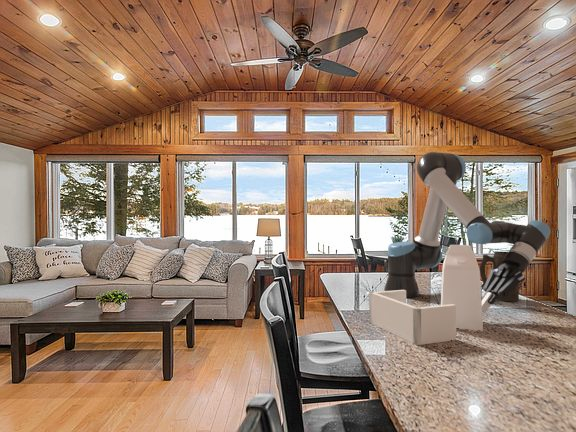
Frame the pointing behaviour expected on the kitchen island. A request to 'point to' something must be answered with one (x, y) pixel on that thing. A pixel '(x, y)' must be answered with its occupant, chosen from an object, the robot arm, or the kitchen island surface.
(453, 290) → the milk
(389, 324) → the cubby
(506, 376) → the kitchen island surface
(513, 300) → the beer stein
